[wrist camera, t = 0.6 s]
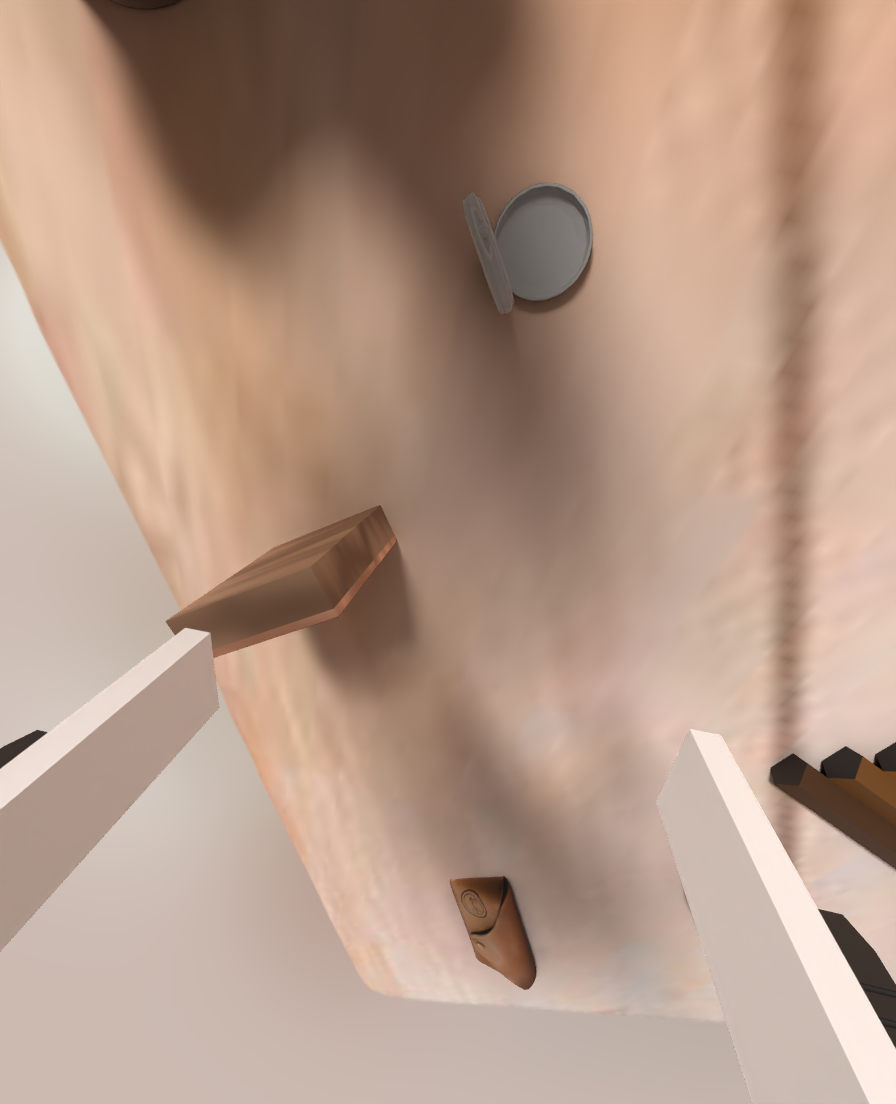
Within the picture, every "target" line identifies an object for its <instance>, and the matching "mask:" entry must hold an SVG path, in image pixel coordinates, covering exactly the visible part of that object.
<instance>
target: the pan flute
mask: <svg viewBox="0 0 896 1104" xmlns="http://www.w3.org/2000/svg"><path fill="white" fill-rule="evenodd" d="M876 757H877V759H878V761H879V763H880V765H881V767H882V770H883V771H882V770H881V769H880V768H878V767H877V766H875V765H874V764H873V763H871V762H870V761H868V760H867V759H866V758H864V757H863V756H861V755H860V754H858V753H856V752H855V751H853V750H851V749H850V748H848V747H846V746H845V747H844V748H842V749H841V750H839V751H837V752H836V753H834V754H832V755H831V756H829V757H828V758H826V759H824V760H823V761H822V764H823V767H824V769H825V772H826V775H827V777H826V776H824V775H823V774H821V773H820V772H819V771H817V770H816V769H814V768H813V767H812V766H810V765H809V764H807V763H806V762H805V761H803V760H802V759H800V758H799V757H798V756H796V755H795V754H791V755H790V756H788V757H787V758H785V759H783V760H782V761H780V762H779V763H777V764H776V765H774V766H773V767H771V771H772V775H773V779H774V783H775V784H776V785H777V786H778V787H780V788H781V789H783V790H784V791H786V792H787V793H788V794H790V795H791V796H793V797H794V798H796V799H797V800H798V801H800V802H801V803H803V804H804V805H806V806H807V807H809V808H810V809H811V810H813V811H814V812H816V813H817V814H819V815H820V816H821V817H823V818H824V819H826V820H827V821H829V822H830V823H831V824H833V825H834V826H836V827H837V828H839V829H840V830H841V831H843V832H844V833H846V834H847V835H849V836H850V837H851V838H853V839H854V840H856V841H857V842H859V843H860V844H862V845H863V846H864V847H866V848H867V849H869V850H870V851H872V852H873V853H874V854H876V855H877V856H879V857H880V858H882V859H883V860H884V861H886V862H887V863H889V864H890V865H892V866H893V867H894V868H896V742H895V743H894V744H892V745H890V746H889V747H887V748H885V749H884V750H882V751H880V752H879V753H877V754H876Z"/></svg>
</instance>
